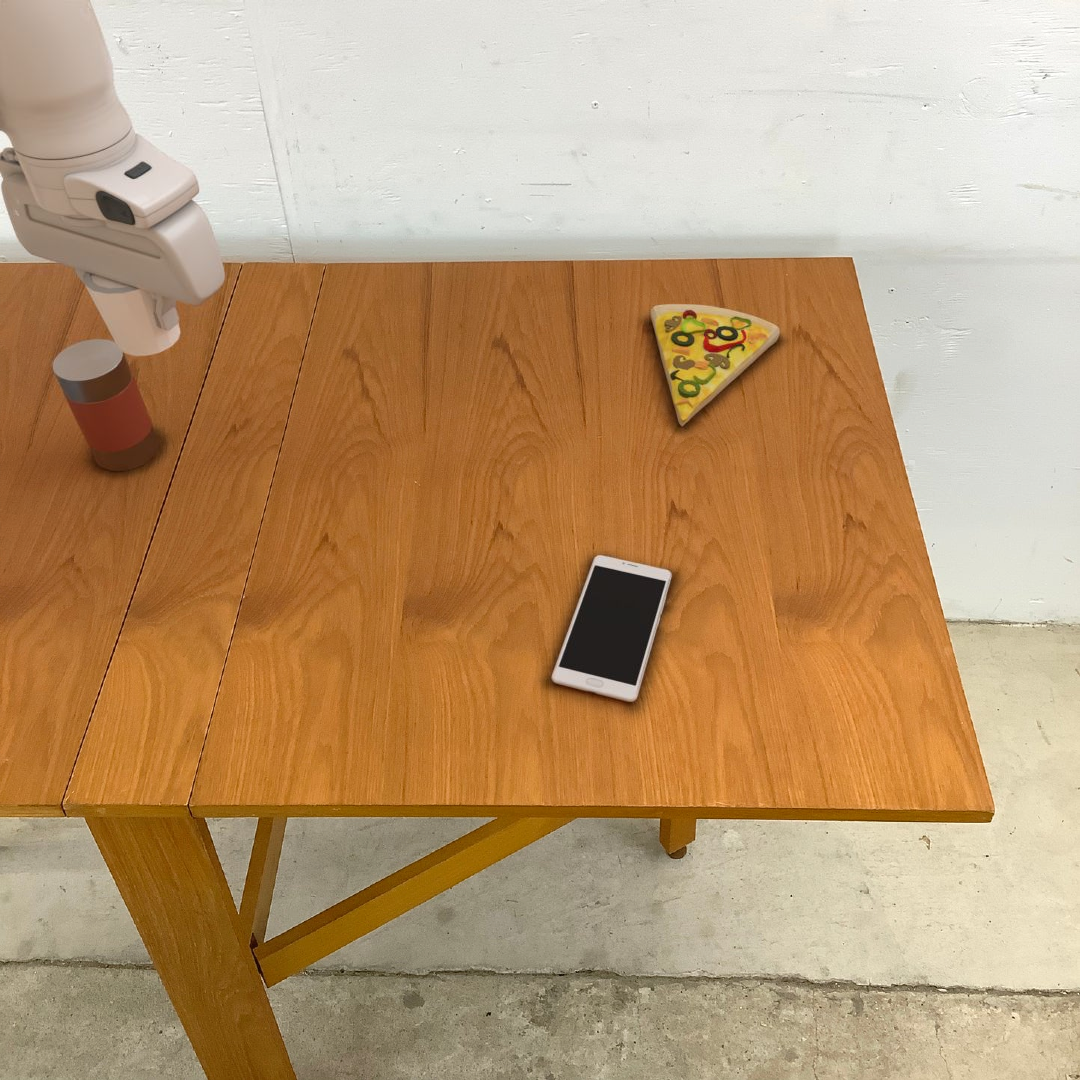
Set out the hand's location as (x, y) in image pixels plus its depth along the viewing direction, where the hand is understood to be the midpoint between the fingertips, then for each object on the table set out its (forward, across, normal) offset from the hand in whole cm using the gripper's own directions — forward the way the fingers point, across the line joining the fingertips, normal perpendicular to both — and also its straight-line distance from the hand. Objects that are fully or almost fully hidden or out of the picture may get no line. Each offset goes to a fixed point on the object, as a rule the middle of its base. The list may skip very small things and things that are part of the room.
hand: (140, 316), depth 88 cm
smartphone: (+19, +47, 0) cm, 51 cm away
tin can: (+19, -9, 0) cm, 21 cm away
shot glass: (+2, 0, 0) cm, 3 cm away
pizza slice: (+20, +41, +38) cm, 59 cm away
